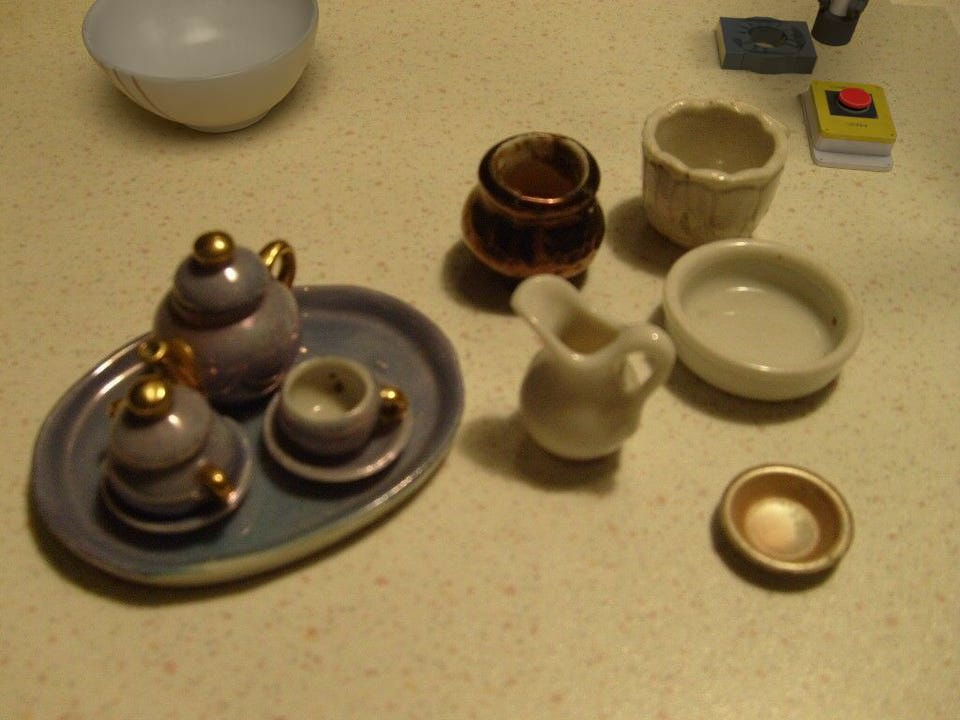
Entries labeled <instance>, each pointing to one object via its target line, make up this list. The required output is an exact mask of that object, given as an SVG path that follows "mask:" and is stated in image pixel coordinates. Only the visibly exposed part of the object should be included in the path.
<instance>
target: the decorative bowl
mask: <svg viewBox="0 0 960 720" xmlns="http://www.w3.org/2000/svg"><path fill="white" fill-rule="evenodd" d="M319 19H320V9H319V2H318V0H95V1H94V2H93V3H92V4H91V6H90V7H89V9H88V10H87V12H86V14H85V15H84V17H83V20H82V24H81V38H82V39H81V40H82V42H83V45H84V48H85V49H86V51H87V53H88V54H89V56H90V57H91V59H92V60H93V62H94V63H95V64H96V66H97V67H98V68H99V69H100V71H101V72H102V73H103V74H104V75H105V77H106V78H108V80H109V81H110V82H111V83H112V84H114V86H115V87H116V88H117V89H118V90H119V91H121V92H122V93H123V94H124V95H125V96H126V97H128V98H129V99H131V100H132V101H133V102H134V103H136V104H137V105H139V106H141V107H142V108H144V109H145V110H147V111H148V112H151V113H152V114H155V115H157V116H159V117H161V118H164V119H166V120H170V121H172V122H176V123H179V124H182V125H184V126H186V127H188V128H189V129H192V130H195V131H199V132H204V133H211V134H213V133H215V134H216V133H218V134H219V133H229V132H230V133H231V132H234V131H239V130H242V129H245V128H248V127H250V126H252V125H254V124H256V123H258V122H259V121H261V120H262V119H263V118H264V117H266V116H267V115H268V113H270V111H271V109H272V108H273V107H274V106H275V105H277V104H279V102H281V101H282V100H283V99H284V98H285V97H286V96H287V95H288V94H289V93H290V92H291V90H292V89H294V87H295V86H296V84H297V82H298V81H299V79H300V78H301V76H302V75H303V73H304V70H305V69H306V68H307V65H308V63H309V60H310V58H311V55H312V52H313V50H314V46H315V42H316V37H317V35H318V28H319Z"/></svg>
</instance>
